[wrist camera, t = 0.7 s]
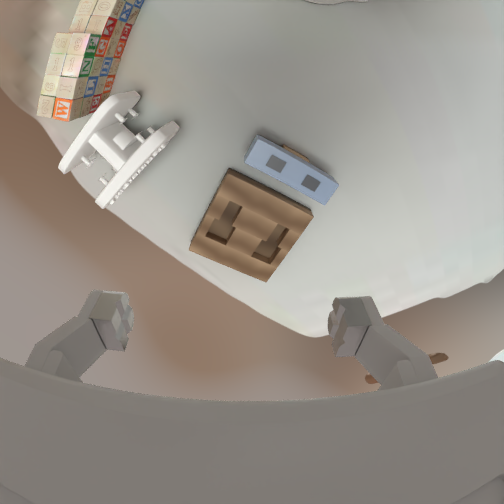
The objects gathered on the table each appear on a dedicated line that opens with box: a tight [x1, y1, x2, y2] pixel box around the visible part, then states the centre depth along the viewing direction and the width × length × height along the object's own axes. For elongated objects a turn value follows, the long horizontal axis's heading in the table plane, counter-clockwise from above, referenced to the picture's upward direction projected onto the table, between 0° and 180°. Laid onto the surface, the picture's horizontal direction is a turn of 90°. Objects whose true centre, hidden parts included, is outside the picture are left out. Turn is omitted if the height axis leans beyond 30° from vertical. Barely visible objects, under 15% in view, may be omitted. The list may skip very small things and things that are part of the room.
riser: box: [282, 144, 310, 163], centre depth 44 cm, size 4×5×2 cm
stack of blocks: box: [37, 0, 144, 122], centre depth 28 cm, size 21×6×12 cm, turn 158°
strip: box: [244, 134, 339, 205], centre depth 43 cm, size 4×14×5 cm, turn 61°
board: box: [189, 168, 313, 282], centre depth 51 cm, size 16×16×3 cm
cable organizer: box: [58, 91, 180, 209], centre depth 37 cm, size 15×11×12 cm
